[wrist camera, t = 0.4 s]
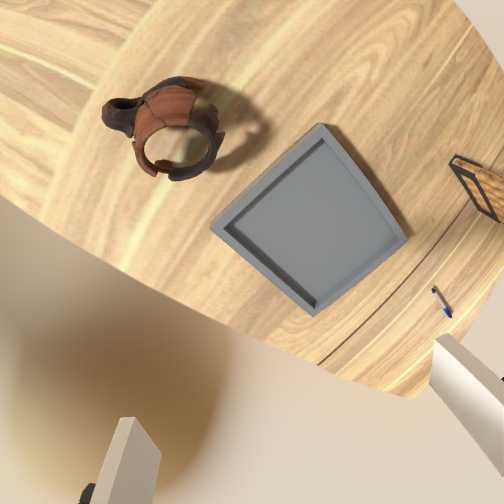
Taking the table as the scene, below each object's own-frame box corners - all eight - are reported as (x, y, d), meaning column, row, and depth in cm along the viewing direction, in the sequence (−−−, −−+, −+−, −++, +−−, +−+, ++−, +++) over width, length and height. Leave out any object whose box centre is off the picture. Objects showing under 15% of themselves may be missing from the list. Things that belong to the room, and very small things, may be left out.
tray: (317, 122, 28) (322, 123, 26) (401, 233, 35) (408, 240, 33) (211, 221, 33) (209, 228, 31) (310, 308, 40) (313, 317, 38)
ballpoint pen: (451, 313, 43) (454, 316, 42) (448, 317, 44) (451, 320, 43) (432, 286, 40) (435, 289, 39) (428, 290, 40) (432, 294, 39)
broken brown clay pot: (231, 79, 26) (242, 118, 22) (204, 146, 33) (209, 196, 29) (116, 60, 21) (94, 96, 17) (105, 134, 29) (90, 183, 24)
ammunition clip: (484, 201, 33) (539, 236, 23) (478, 210, 34) (532, 247, 23) (454, 153, 30) (521, 181, 19) (448, 163, 30) (513, 194, 20)
